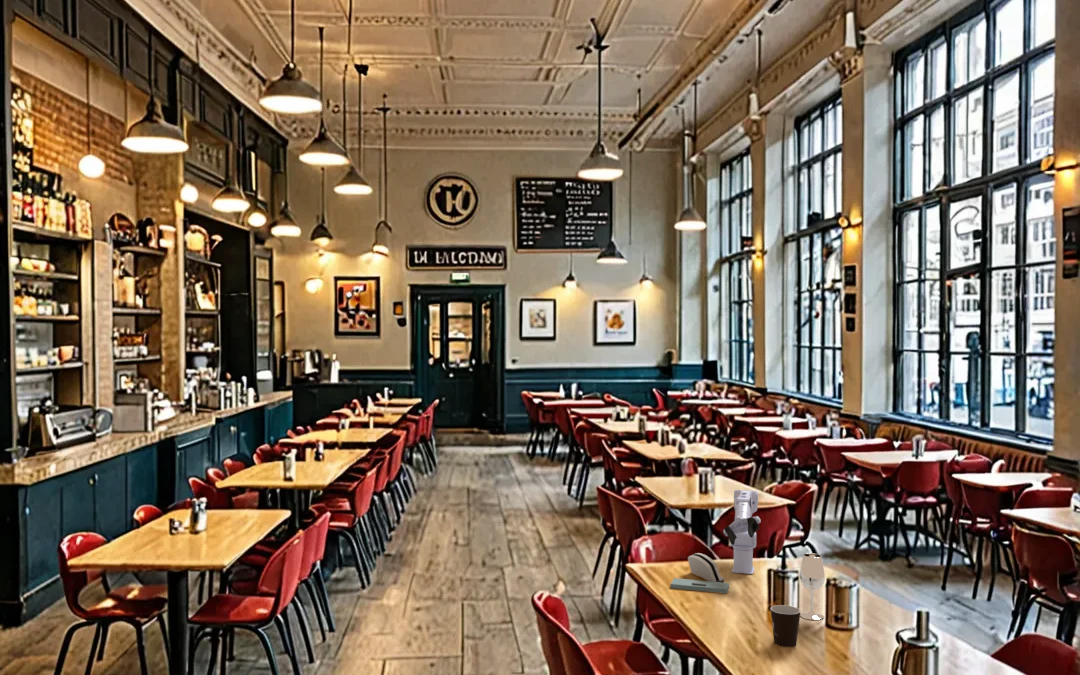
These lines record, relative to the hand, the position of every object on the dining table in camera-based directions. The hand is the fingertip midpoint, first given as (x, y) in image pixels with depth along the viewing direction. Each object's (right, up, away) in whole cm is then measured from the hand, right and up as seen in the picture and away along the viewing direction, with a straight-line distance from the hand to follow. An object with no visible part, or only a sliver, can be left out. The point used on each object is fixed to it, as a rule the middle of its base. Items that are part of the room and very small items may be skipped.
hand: (741, 539), depth 318 cm
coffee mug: (0, -17, -59) cm, 61 cm away
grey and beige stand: (-11, -17, +10) cm, 23 cm away
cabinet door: (-16, -17, -3) cm, 23 cm away
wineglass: (+15, -17, -35) cm, 42 cm away
